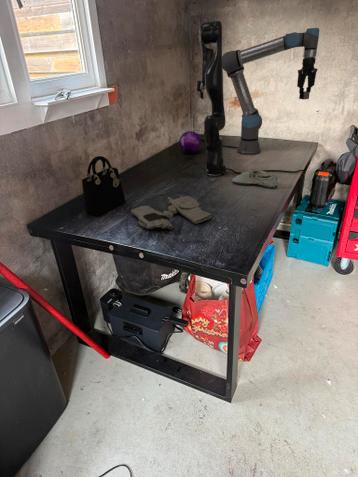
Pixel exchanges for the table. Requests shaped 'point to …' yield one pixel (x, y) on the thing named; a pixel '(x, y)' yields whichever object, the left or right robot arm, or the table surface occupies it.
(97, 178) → the handbag
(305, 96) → the metal block
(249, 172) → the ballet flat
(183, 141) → the decorative orb
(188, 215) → the pair of gloves
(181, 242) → the table surface
